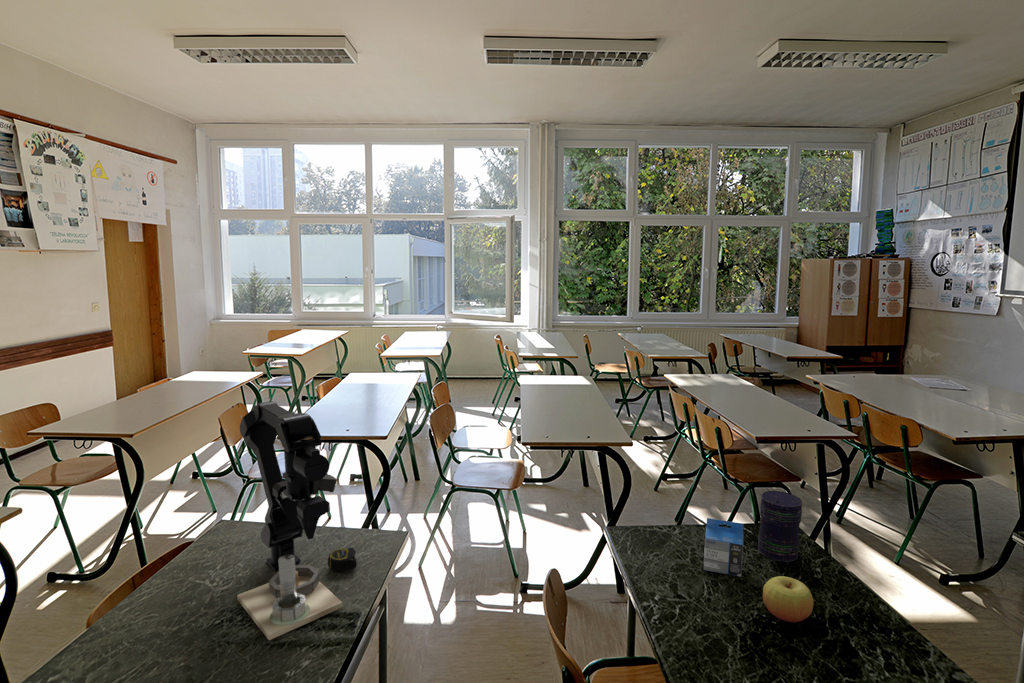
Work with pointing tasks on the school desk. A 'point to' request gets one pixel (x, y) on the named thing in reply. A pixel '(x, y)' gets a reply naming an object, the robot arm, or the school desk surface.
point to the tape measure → (342, 560)
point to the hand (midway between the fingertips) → (302, 531)
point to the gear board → (266, 600)
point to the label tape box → (723, 547)
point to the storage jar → (779, 525)
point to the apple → (787, 599)
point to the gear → (288, 592)
